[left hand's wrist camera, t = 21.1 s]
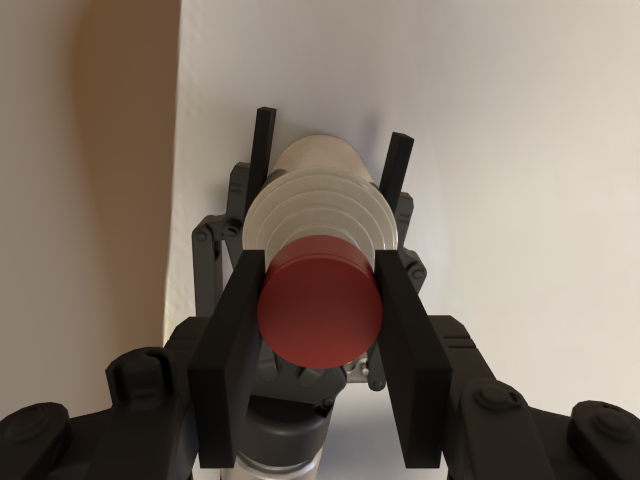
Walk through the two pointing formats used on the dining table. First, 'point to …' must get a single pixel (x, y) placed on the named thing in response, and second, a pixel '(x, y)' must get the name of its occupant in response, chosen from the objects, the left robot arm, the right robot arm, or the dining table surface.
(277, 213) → the bottle
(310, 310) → the cap
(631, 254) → the dining table surface
